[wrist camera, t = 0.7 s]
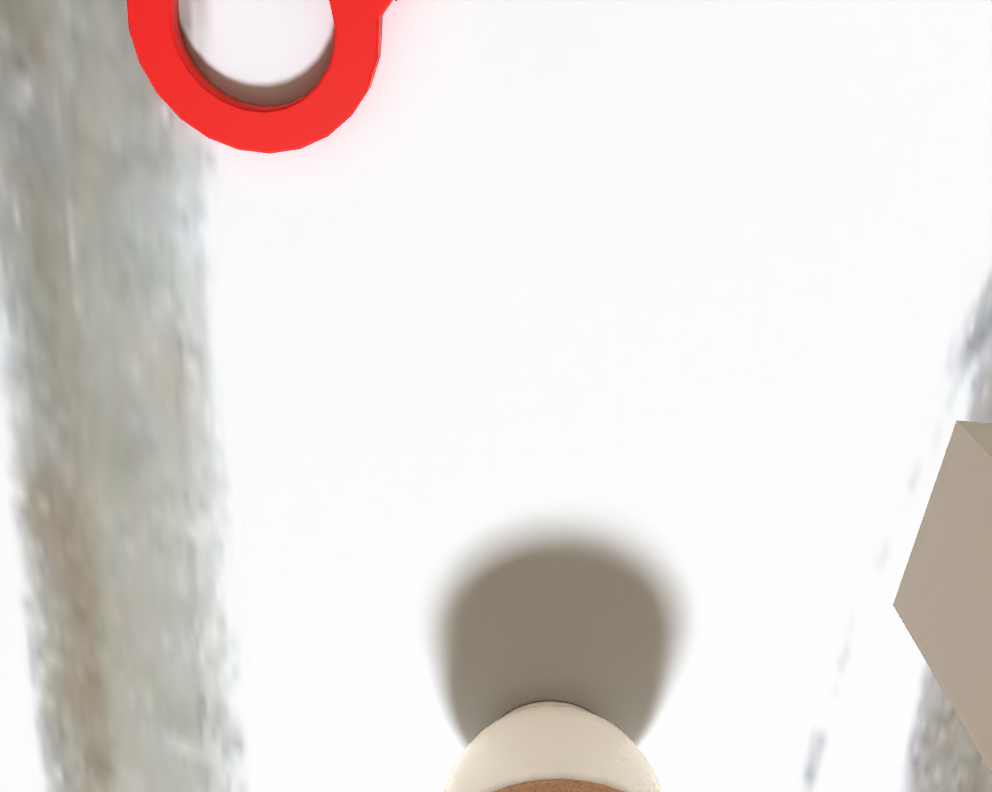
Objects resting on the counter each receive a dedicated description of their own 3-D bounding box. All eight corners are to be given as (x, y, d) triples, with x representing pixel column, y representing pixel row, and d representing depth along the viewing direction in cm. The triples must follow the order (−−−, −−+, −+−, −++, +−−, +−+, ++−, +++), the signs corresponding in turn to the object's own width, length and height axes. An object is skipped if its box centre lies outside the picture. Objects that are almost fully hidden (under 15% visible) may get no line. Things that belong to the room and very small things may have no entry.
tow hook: (296, 192, 35) (448, -19, 32) (179, 333, 24) (396, 28, 20) (95, 40, 33) (234, -205, 30) (-141, 115, 22) (40, -270, 18)
